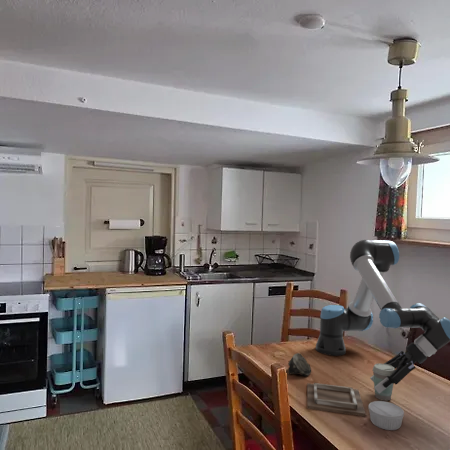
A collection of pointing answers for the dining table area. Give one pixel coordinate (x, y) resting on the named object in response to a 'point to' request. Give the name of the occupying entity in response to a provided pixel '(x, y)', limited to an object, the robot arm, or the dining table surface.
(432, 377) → the dining table surface
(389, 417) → the ramekin
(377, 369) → the coffee cup
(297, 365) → the fossil
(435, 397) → the dining table surface
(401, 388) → the dining table surface
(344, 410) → the locating board
